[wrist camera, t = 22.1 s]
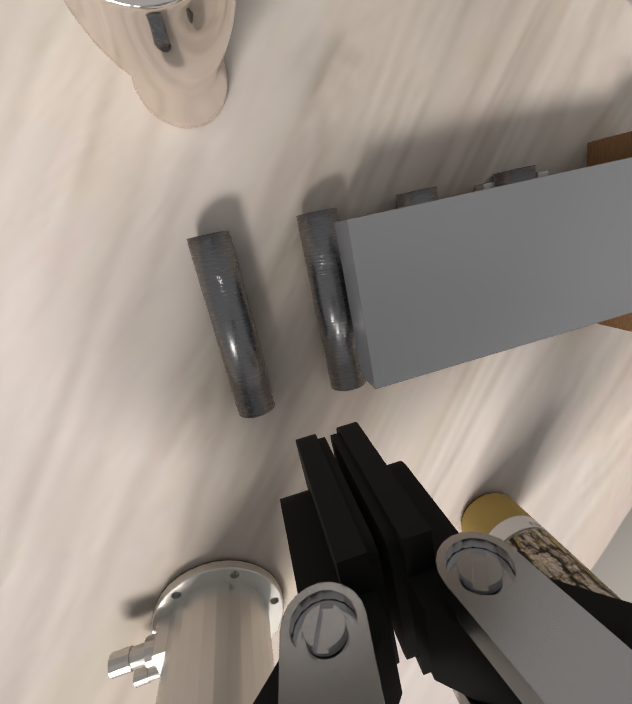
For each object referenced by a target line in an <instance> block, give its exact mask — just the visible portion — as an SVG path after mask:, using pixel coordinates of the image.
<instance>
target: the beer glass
mask: <svg viewBox="0 0 632 704" xmlns="http://www.w3.org/2000/svg"><path fill="white" fill-rule="evenodd" d="M63 1H64V3H65V4H66V6H67V7H68V9H69V10H70V12H71V13H72V15H73V16H74V18H75V19H76V20H77V22H78V23H79V24H80V25H81V27H82V28H83V29H84V31H85V32H86V33H87V34H88V36H89V37H90V38H91V40H92V41H93V42H94V43H95V44H96V45H97V47H98V48H99V49H100V50H101V51H102V52H103V53H104V54H105V55H106V56H108V57H109V58H110V59H111V60H112V61H113V62H114V63H115V64H116V65H117V66H118V67H119V68H121V69H122V70H123V71H124V72H126V73H127V74H128V75H130V76H131V78H132V82H133V85H134V87H135V90H136V92H137V94H138V96H139V98H140V99H141V101H142V102H143V104H144V105H145V106H146V107H147V109H148V110H149V111H150V112H151V113H153V114H154V115H155V116H156V117H158V118H159V119H160V120H162V121H164V122H165V123H167V124H170V125H172V126H176V127H180V128H195V127H199V126H202V125H204V124H206V123H208V122H209V121H211V120H212V119H213V118H214V117H215V116H216V115H217V114H218V113H219V111H220V110H221V108H222V106H223V104H224V102H225V99H226V95H227V88H228V79H227V72H226V67H225V64H224V61H223V57H224V55H225V52H226V49H227V47H228V43H229V40H230V36H231V32H232V28H233V24H234V18H235V7H236V0H63Z"/></svg>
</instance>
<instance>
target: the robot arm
mask: <svg viewBox="0 0 632 704" xmlns="http://www.w3.org/2000/svg"><path fill="white" fill-rule="evenodd" d="M336 430H337V433H336V434H333V435H331V442H332V447H333V451H334V455H333V453H332V451H331V449H330V447H329V445H328V442H327V440H326V438H325V437H323V438H320V439H318V438H317V436H316V434H314V435H310V436H307V437H304V438H300V439H297V440H296V444H297V448H298V452H299V456H300V460H301V464H302V468H303V472H304V476H305V480H306V484H307V488H308V490H307V491H304V492H301V493H298V494H295V495H292V496H288V497H285V498H282V499H280V502H281V508H282V513H283V518H284V523H285V529H286V534H287V539H288V544H289V550H290V555H291V560H292V565H293V571H294V576H295V581H296V586H297V592H298V594H297V595H296V596H295V598H294V599H293V600H292V601H291V602H290V603H289V605H288V606H287V609H286V611H285V613H284V615H283V610H284V606H283V597H282V592H281V588H280V586H279V585H278V583H277V581H276V580H275V578H274V577H273V576H272V575H271V574H270V573H269V572H267V571H266V570H264V569H263V568H261V567H259V566H256V565H254V564H251V563H247V562H242V561H229V560H227V561H217V562H212V563H208V564H204V565H201V566H198V567H196V568H193V569H191V570H189V571H187V572H186V573H184V574H182V575H181V576H179V577H178V578H176V579H175V580H174V581H173V582H172V583H171V584H169V585H168V586H167V588H166V589H165V590H164V591H163V593H162V594H161V595H160V597H159V599H158V601H157V603H156V606H155V609H154V613H153V618H152V625H151V629H152V635H149V636H148V637H147V638H146V640H145V642H144V643H141V644H139V645H136V646H129V647H126V648H124V649H121V650H118V651H115V652H112V653H111V655H110V657H109V660H108V674H109V676H110V678H112V679H114V678H116V677H119V676H122V675H125V674H127V673H130V672H133V671H134V670H135V669H136V670H135V671H134V676H133V682H134V686H135V687H136V688H137V687H140V686H143V685H145V684H148V683H150V682H151V681H154V680H156V679H159V678H160V681H159V687H158V693H157V699H156V704H399V702H400V699H401V696H402V689H401V684H400V679H399V673H398V668H397V664H398V663H399V656H398V651H397V646H396V641H395V635H394V631H395V634H396V636H397V639H398V641H399V643H400V646H401V648H402V651H403V653H404V655H405V657H406V659H407V660H408V659H410V658H413V657H416V659H417V661H418V664H419V666H420V668H421V670H422V673H423V675H425V674H428V673H430V672H431V673H432V675H433V677H434V679H435V680H436V681H438V682H440V683H442V684H444V685H446V686H448V687H450V688H452V689H453V692H454V694H455V696H456V698H457V700H458V702H459V704H632V603H629V602H626V601H623V600H620V599H617V598H613V597H610V596H607V595H603V594H600V593H597V592H593V591H590V590H587V589H584V588H580V587H577V586H574V585H570V584H567V583H564V582H560V581H557V580H554V579H551V578H548V577H546V576H545V575H544V574H543V573H542V572H541V571H539V570H538V569H537V568H536V567H535V566H534V565H532V564H531V563H530V562H529V561H528V560H527V559H526V558H524V557H523V556H522V555H521V554H520V553H519V552H517V551H516V550H515V549H514V548H513V547H512V546H510V545H509V544H507V543H506V542H504V541H503V540H501V539H500V538H497V537H495V536H492V535H490V534H487V533H481V532H475V531H472V532H461V533H458V531H457V530H456V529H455V527H454V526H453V525H452V524H451V522H450V521H449V520H448V518H447V517H446V516H445V515H444V513H443V512H442V511H441V509H440V508H439V507H438V506H437V504H436V503H435V502H434V500H433V499H432V498H431V497H430V495H429V494H428V493H427V491H426V490H425V489H424V488H423V486H422V485H421V484H420V482H419V481H418V480H417V479H416V477H415V476H414V475H413V473H412V472H411V471H410V470H409V468H408V467H407V466H406V465H405V464H404V463H403V462H402V461H398V462H395V463H392V464H389V465H386V463H385V462H384V460H383V459H382V458H381V456H380V455H379V453H378V452H377V450H376V449H375V447H374V446H373V445H372V443H371V442H370V440H369V439H368V437H367V436H366V434H365V433H364V432H363V430H362V429H361V427H360V426H359V424H358V423H357V422H354V423H351V424H347V425H344V426H341V427H337V429H336ZM334 456H335V457H334ZM281 620H282V621H281ZM280 623H281V627H280V644H279V661H278V662H277V664H276V666H275V667H274V659H273V649H272V639H271V638H272V637H273V635H274V634H275V632H276V631H277V629H278V628H279V626H280ZM393 629H394V630H393ZM140 667H141V668H140ZM137 668H138V669H137Z"/></svg>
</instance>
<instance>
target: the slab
mask: <svg viewBox="0 0 632 704" xmlns="http://www.w3.org/2000/svg"><path fill="white" fill-rule="evenodd" d="M334 224H335V230H336V235H337V241H338V246H339V252H340V258H341V263H342V269H343V274H344V280H345V286H346V291H347V297H348V302H349V308H350V314H351V319H352V325H353V330H354V336H355V342H356V347H357V353H358V358H359V364H360V369H361V375H362V376H363V377H364V378H365V379H366V380H367V381H368V382H369V383H370V384H371V385H372V386H373V387H374V388H375V389H377V388H381V387H384V386H387V385H391V384H394V383H398V382H401V381H404V380H408V379H411V378H414V377H418V376H421V375H424V374H428V373H431V372H434V371H438V370H441V369H444V368H448V367H451V366H454V365H458V364H461V363H464V362H468V361H471V360H475V359H478V358H481V357H485V356H488V355H491V354H495V353H498V352H501V351H505V350H508V349H511V348H515V347H518V346H521V345H525V344H528V343H531V342H535V341H538V340H541V339H545V338H548V337H551V336H555V335H558V334H562V333H565V332H568V331H572V330H575V329H578V328H582V327H585V326H588V325H592V324H595V323H598V322H602V321H605V320H608V319H612V318H615V317H618V316H622V315H625V314H628V313H632V157H630V158H625V159H620V160H615V161H611V162H606V163H602V164H597V165H592V166H588V167H583V168H579V169H574V170H570V171H565V172H561V173H556V174H551V175H547V176H542V177H538V178H533V179H529V180H524V181H520V182H515V183H511V184H506V185H501V186H497V187H492V188H488V189H483V190H479V191H474V192H470V193H465V194H460V195H456V196H451V197H447V198H442V199H438V200H433V201H429V202H424V203H419V204H415V205H410V206H406V207H401V208H397V209H392V210H388V211H383V212H378V213H374V214H369V215H365V216H360V217H356V218H351V219H347V220H342V221H338V222H334Z"/></svg>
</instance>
